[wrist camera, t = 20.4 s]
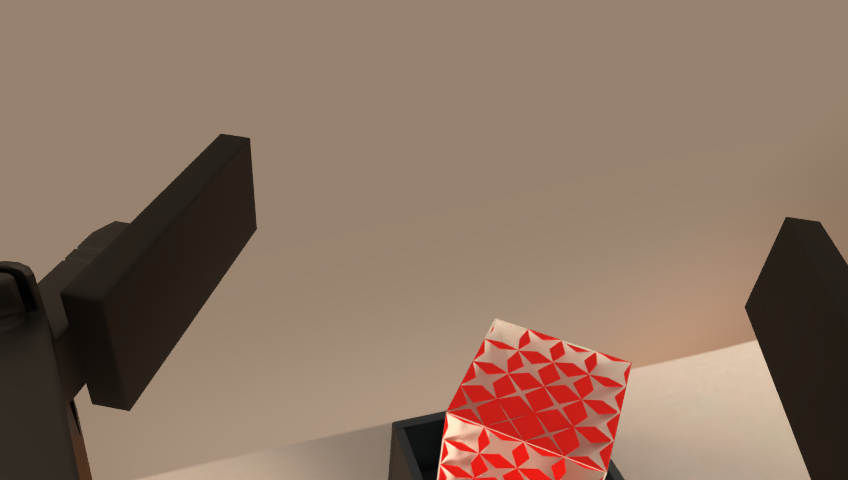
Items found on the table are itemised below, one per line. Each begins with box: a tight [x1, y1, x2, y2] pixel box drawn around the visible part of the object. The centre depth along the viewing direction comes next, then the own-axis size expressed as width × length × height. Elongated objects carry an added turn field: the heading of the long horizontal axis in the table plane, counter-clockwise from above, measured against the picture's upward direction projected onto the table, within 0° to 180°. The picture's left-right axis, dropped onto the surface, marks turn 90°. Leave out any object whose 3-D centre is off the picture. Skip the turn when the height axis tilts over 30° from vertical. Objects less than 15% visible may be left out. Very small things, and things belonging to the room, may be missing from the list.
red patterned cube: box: [437, 318, 632, 480], centre depth 36 cm, size 8×8×8 cm
